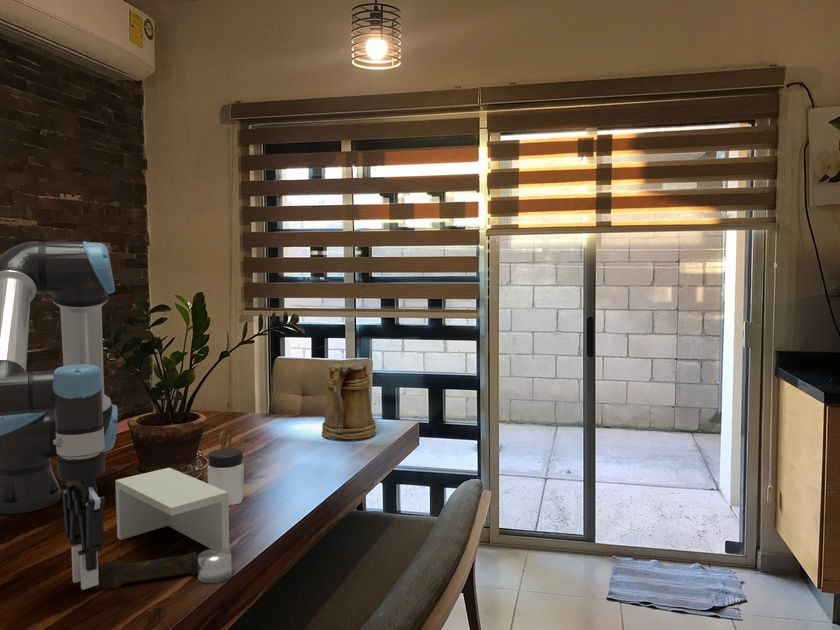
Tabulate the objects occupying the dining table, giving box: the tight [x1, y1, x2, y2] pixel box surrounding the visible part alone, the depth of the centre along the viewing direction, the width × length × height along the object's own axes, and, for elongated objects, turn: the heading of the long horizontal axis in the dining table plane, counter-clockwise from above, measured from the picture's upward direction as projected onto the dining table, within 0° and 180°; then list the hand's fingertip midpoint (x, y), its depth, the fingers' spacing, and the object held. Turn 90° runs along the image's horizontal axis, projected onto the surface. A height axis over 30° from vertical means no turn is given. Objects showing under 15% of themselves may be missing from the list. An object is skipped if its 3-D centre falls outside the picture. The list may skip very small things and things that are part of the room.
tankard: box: [321, 358, 377, 442], centre depth 228 cm, size 18×24×25 cm
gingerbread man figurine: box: [216, 430, 233, 450], centre depth 188 cm, size 9×4×12 cm, turn 168°
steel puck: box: [197, 548, 233, 584], centre depth 128 cm, size 6×6×4 cm
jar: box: [207, 447, 245, 507], centre depth 167 cm, size 9×8×12 cm
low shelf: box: [114, 467, 230, 551], centre depth 141 cm, size 24×12×12 cm, turn 47°
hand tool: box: [87, 551, 198, 590], centre depth 126 cm, size 19×4×5 cm, turn 110°
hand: (85, 582), depth 122 cm, fingers open, 3 cm apart
